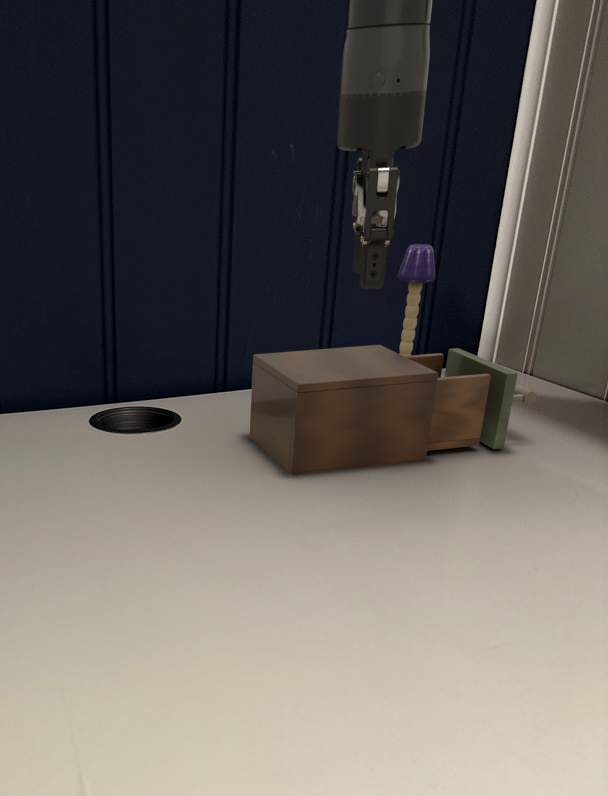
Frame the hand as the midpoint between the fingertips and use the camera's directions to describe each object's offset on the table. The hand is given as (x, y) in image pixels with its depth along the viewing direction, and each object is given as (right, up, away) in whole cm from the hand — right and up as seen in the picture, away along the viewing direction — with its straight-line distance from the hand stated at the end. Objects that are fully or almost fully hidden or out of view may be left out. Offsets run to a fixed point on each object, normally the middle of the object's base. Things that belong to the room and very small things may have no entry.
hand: (367, 280), depth 91 cm
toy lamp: (+14, 0, +34) cm, 37 cm away
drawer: (+10, -13, +10) cm, 19 cm away
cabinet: (-1, -15, +8) cm, 18 cm away
